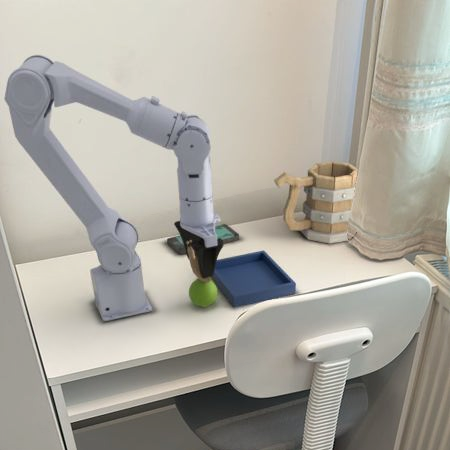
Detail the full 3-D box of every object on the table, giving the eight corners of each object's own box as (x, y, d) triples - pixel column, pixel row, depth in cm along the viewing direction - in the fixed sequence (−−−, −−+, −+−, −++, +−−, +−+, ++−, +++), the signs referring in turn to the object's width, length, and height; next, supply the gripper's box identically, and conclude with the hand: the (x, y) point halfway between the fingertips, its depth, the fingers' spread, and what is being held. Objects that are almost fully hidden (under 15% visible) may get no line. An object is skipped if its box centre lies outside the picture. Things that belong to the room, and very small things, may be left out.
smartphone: (165, 237, 142) (225, 222, 147) (166, 243, 143) (225, 227, 148) (179, 250, 137) (240, 234, 142) (179, 256, 138) (240, 239, 143)
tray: (295, 293, 124) (296, 283, 122) (233, 307, 120) (233, 296, 119) (263, 260, 135) (263, 250, 133) (206, 272, 132) (206, 261, 130)
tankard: (341, 216, 151) (347, 151, 142) (366, 237, 142) (374, 170, 132) (262, 229, 147) (263, 163, 137) (283, 252, 137) (285, 184, 128)
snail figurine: (202, 292, 125) (199, 235, 117) (223, 305, 121) (221, 246, 114) (181, 302, 122) (176, 244, 115) (201, 315, 118) (198, 256, 111)
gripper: (233, 206, 104) (235, 280, 113) (203, 177, 115) (207, 247, 123) (192, 213, 102) (197, 288, 111) (166, 183, 113) (172, 254, 121)
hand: (200, 267), depth 117 cm, fingers open, 7 cm apart
